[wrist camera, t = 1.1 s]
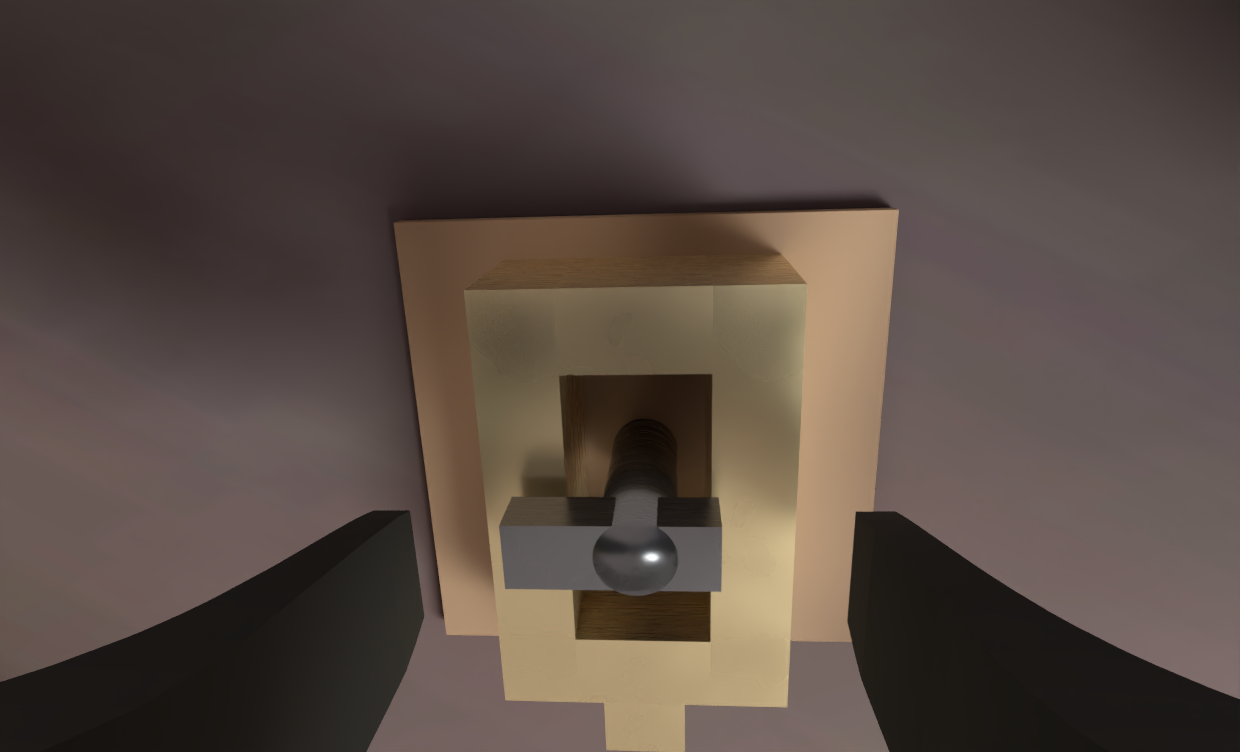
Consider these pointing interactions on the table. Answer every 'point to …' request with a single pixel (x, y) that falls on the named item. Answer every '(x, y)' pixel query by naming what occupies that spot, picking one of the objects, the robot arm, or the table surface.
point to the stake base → (662, 380)
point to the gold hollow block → (734, 471)
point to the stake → (618, 528)
